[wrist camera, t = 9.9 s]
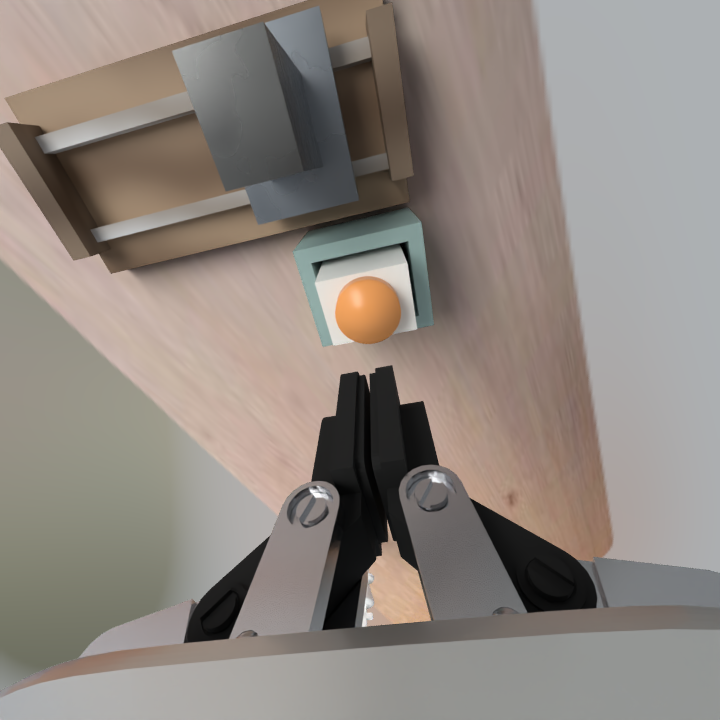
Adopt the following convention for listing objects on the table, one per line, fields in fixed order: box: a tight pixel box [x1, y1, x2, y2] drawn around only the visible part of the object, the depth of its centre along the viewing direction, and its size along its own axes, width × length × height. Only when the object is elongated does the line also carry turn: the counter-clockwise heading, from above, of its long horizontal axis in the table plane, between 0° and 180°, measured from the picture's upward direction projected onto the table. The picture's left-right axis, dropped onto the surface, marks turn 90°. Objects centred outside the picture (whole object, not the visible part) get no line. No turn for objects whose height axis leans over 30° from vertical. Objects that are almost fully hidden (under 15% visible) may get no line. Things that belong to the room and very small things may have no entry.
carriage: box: [172, 6, 359, 225], centre depth 15 cm, size 8×6×8 cm
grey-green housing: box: [293, 208, 434, 347], centre depth 22 cm, size 6×7×6 cm
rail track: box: [0, 0, 414, 274], centre depth 20 cm, size 10×21×4 cm, turn 103°
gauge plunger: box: [315, 243, 417, 346], centre depth 19 cm, size 4×5×6 cm
